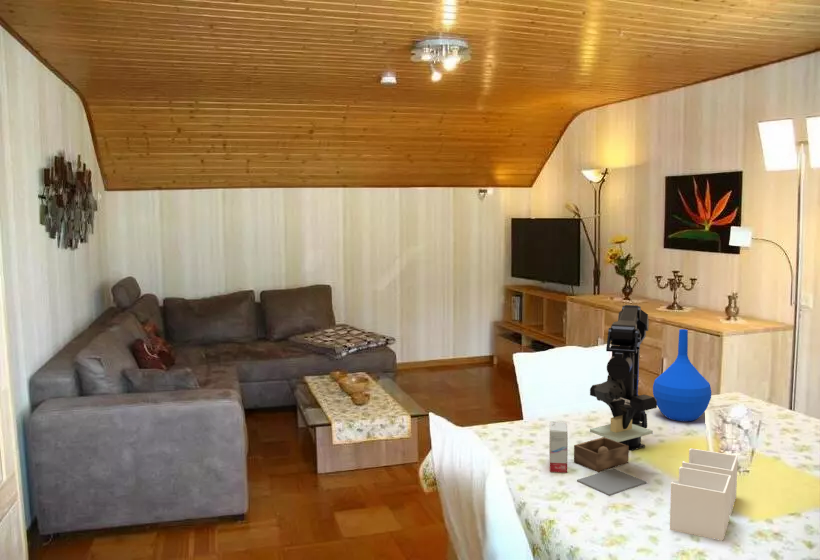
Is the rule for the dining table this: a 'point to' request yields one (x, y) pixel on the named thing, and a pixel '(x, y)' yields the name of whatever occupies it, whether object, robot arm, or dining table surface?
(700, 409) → the vase
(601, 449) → the cork ball
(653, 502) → the dining table surface
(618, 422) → the lid
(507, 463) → the dining table surface
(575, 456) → the box
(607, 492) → the mat
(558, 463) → the ink box
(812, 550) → the dining table surface
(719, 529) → the storage container
